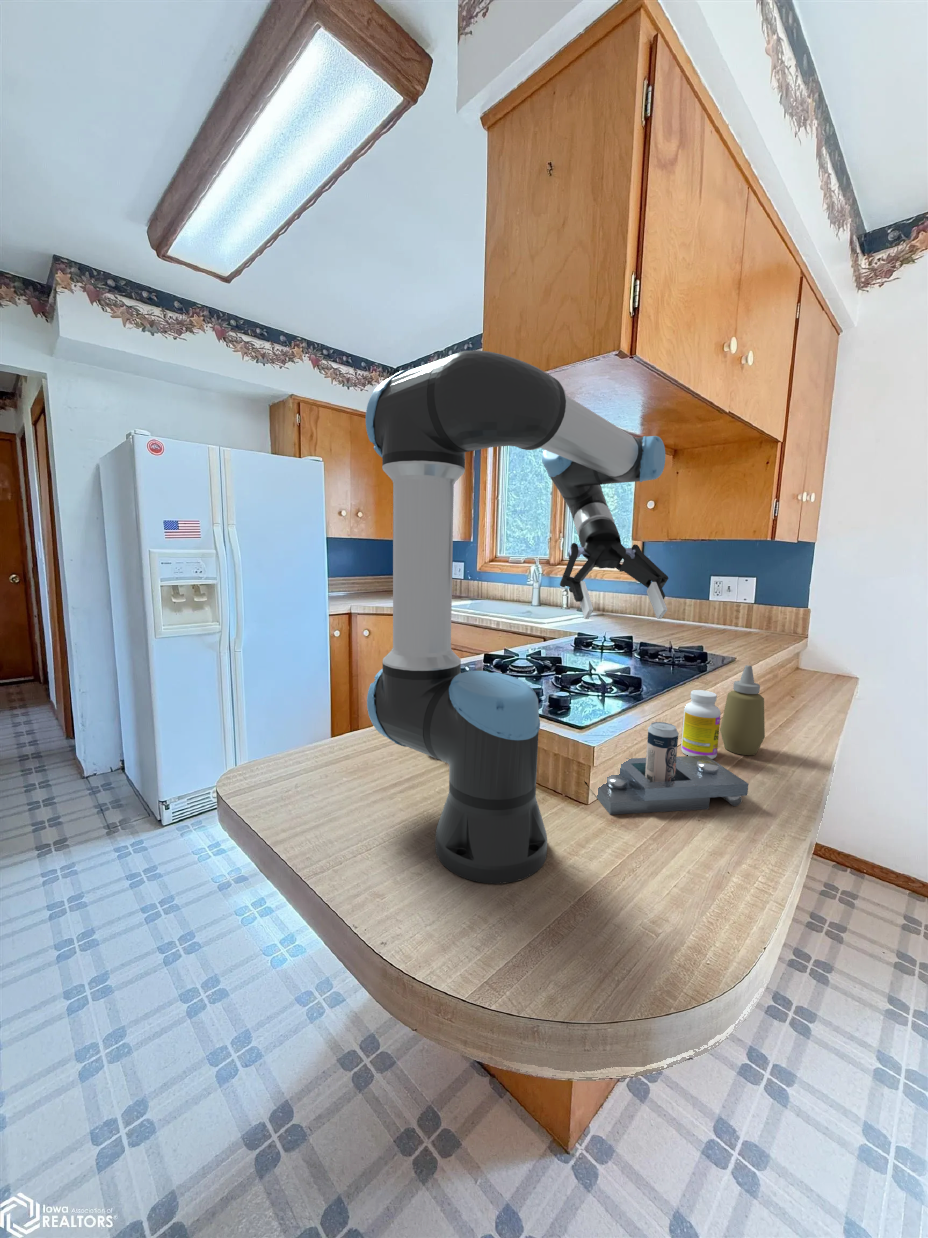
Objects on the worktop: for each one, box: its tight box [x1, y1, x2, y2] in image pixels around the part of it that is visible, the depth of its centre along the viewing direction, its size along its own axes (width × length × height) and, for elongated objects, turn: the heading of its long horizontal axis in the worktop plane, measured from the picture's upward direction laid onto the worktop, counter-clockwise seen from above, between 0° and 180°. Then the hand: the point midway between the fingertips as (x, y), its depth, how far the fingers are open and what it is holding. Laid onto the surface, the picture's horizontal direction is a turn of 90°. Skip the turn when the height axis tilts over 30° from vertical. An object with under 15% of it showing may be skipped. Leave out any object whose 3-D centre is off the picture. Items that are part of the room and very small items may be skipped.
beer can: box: [645, 721, 679, 782], centre depth 81 cm, size 5×5×12 cm
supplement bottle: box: [680, 689, 722, 760], centre depth 98 cm, size 7×7×13 cm
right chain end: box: [619, 755, 749, 807], centre depth 82 cm, size 18×11×5 cm, turn 97°
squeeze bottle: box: [719, 665, 766, 756], centre depth 100 cm, size 8×8×18 cm
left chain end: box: [596, 774, 711, 815], centre depth 81 cm, size 16×11×3 cm, turn 97°
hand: (626, 614), depth 85 cm, fingers open, 13 cm apart
